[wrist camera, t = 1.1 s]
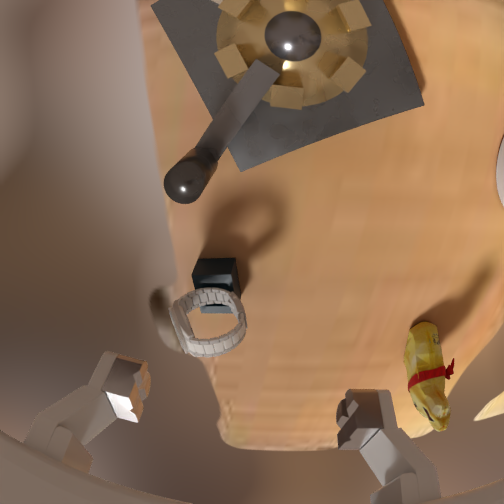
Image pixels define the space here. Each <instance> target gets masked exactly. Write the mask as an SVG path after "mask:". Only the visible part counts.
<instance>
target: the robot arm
mask: <svg viewBox="0 0 504 504" xmlns="http://www.w3.org/2000/svg"><path fill="white" fill-rule="evenodd" d="M496 181H497V189H498V194H499V197H500V200H501V202H502V204H503V206H504V138H503V140H502V143H501V146H500V150H499V154H498V159H497V168H496ZM147 368H148V365H147V361H144V360H139V359H135V358H132V357H128V356H124V355H120V354H117V353H113V352H109V351H106V352H105V353H104V354H103V355H102V357H101V359H100V362H99V363H98V365H97V367H96V369H95V371H94V373H93V375H92V377H91V380H90V382H89V384H88V386H85V385H83V386H82V387H81V388H79V389H77V390H75V391H74V392H72V393H71V394H69V395H67V396H66V397H64V398H63V399H61V400H60V401H58V402H56V403H55V404H53V405H51V406H50V407H48V408H47V409H45V410H43V411H42V412H40V413H38V414H37V416H36V418H35V420H34V422H33V424H32V426H31V428H30V430H29V432H28V434H27V437H26V439H25V441H24V443H22V442H20V441H18V440H16V439H15V438H13V437H11V436H9V435H8V434H6V433H4V432H3V431H1V430H0V504H192V503H187V502H182V501H177V500H173V499H168V498H164V497H160V496H156V495H152V494H149V493H145V492H141V491H138V490H134V489H131V488H128V487H125V486H122V485H119V484H116V483H112V482H110V481H106V480H104V479H101V478H98V477H96V476H93V475H91V474H88V473H89V470H90V467H91V464H92V461H93V458H92V455H91V454H90V453H89V452H88V451H87V450H86V449H85V448H84V445H86V444H87V443H88V442H89V441H90V440H92V439H93V438H94V437H95V436H96V435H98V434H99V433H100V432H101V431H103V430H104V429H105V428H106V427H107V426H108V425H110V424H111V423H112V422H113V421H114V420H116V419H117V417H118V418H122V419H126V420H129V421H133V422H139V420H140V417H141V414H142V410H143V404H142V401H143V400H144V399H146V398H147V396H148V393H149V389H150V374H149V373H148V372H147ZM345 397H346V398H345V399H343V400H341V401H340V403H339V405H338V408H337V413H336V422H337V425H338V426H339V427H340V428H341V430H340V431H339V432H338V434H337V438H338V449H339V450H360V453H361V454H362V456H363V457H364V459H365V460H366V462H367V463H368V465H369V466H370V468H371V469H372V471H373V472H374V474H375V475H376V477H377V478H378V479H379V481H380V483H381V484H382V486H383V487H381V488H380V489H378V490H376V491H375V492H373V493H372V494H371V495H370V498H371V504H504V478H502V479H500V480H497V481H495V482H492V483H489V484H486V485H483V486H481V487H477V488H474V489H471V490H468V491H464V492H461V493H458V494H454V495H451V496H447V497H443V498H441V493H440V486H439V480H438V474H437V468H436V467H435V465H434V464H433V463H432V462H431V461H430V460H429V459H428V458H427V457H426V455H425V454H424V453H423V452H422V451H421V450H420V449H419V448H418V447H417V445H416V444H415V443H414V442H413V441H412V440H411V439H410V437H409V436H408V435H407V434H406V433H405V432H404V431H403V430H402V428H398V427H397V422H396V417H395V412H394V407H393V402H392V397H391V393H390V391H389V390H375V389H349V390H348V391H347V392H346V394H345Z"/></svg>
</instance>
